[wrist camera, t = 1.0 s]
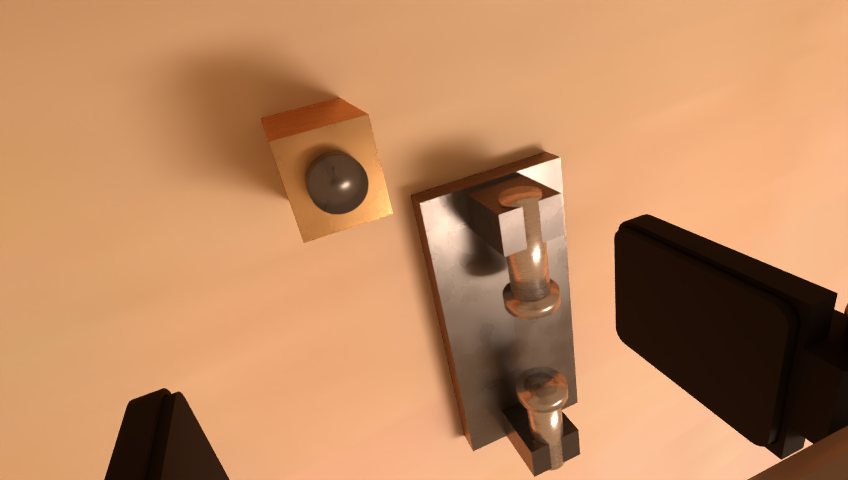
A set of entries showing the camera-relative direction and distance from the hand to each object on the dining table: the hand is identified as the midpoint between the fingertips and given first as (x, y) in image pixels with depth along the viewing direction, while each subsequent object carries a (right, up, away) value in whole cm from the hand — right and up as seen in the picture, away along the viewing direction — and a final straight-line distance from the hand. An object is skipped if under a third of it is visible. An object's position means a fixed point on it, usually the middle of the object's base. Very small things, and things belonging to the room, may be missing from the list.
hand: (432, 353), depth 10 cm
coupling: (-6, +7, +15) cm, 18 cm away
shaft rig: (+5, -2, +23) cm, 24 cm away
